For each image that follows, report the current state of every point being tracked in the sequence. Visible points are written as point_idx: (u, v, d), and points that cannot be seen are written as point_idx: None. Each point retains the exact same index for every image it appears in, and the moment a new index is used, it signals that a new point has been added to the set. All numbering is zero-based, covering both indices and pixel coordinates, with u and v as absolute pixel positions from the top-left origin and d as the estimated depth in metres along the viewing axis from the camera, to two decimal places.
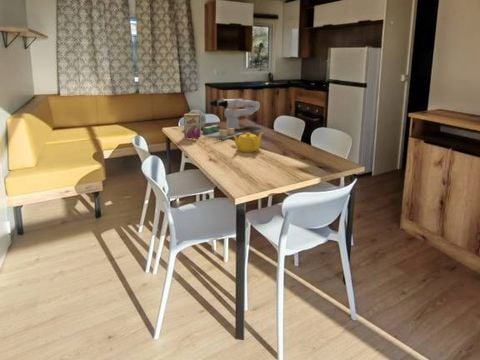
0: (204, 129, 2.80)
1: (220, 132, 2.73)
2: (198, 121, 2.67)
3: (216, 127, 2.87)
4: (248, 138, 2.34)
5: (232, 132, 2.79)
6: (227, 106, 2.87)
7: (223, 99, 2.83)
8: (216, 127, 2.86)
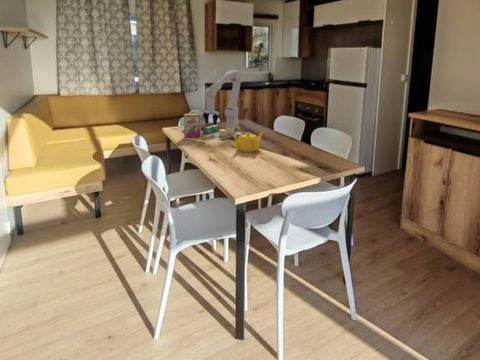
0: (204, 129, 2.80)
1: (220, 132, 2.73)
2: (198, 121, 2.67)
3: (216, 127, 2.87)
4: (248, 138, 2.34)
5: (232, 132, 2.79)
6: (214, 107, 2.81)
7: (208, 113, 2.79)
8: (216, 127, 2.86)
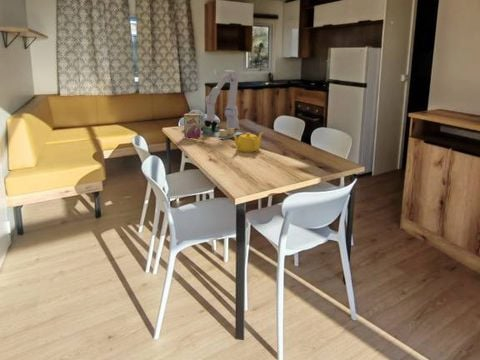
0: (204, 129, 2.80)
1: (220, 132, 2.73)
2: (198, 121, 2.67)
3: (216, 127, 2.87)
4: (248, 138, 2.34)
5: (232, 132, 2.79)
6: (214, 114, 2.82)
7: (209, 120, 2.80)
8: (216, 127, 2.86)
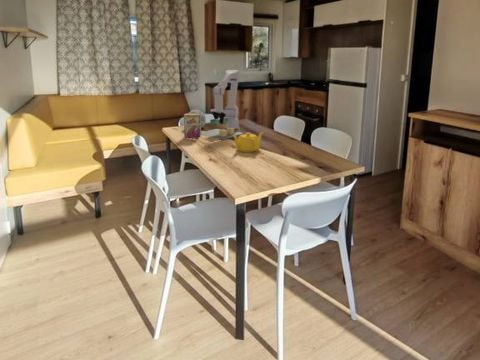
0: (212, 121, 2.73)
1: (220, 132, 2.73)
2: (198, 121, 2.67)
3: (224, 119, 2.80)
4: (248, 138, 2.34)
5: (232, 132, 2.79)
6: (222, 105, 2.75)
7: (217, 111, 2.73)
8: (224, 119, 2.79)
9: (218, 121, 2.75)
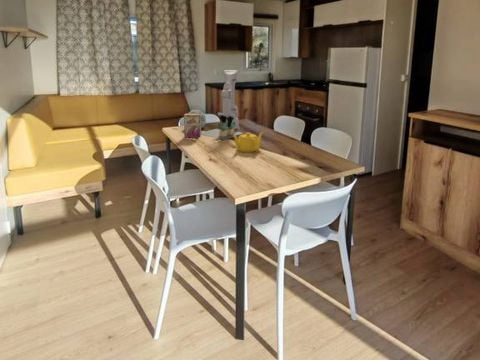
0: (219, 125, 2.70)
1: (220, 132, 2.73)
2: (198, 121, 2.67)
3: (232, 123, 2.76)
4: (248, 138, 2.34)
5: (232, 132, 2.79)
6: (230, 109, 2.72)
7: (225, 115, 2.70)
8: (232, 123, 2.76)
9: (226, 125, 2.72)
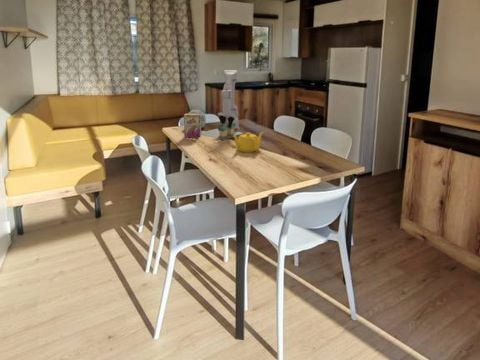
0: (219, 126, 2.70)
1: (220, 132, 2.73)
2: (198, 121, 2.67)
3: (232, 124, 2.77)
4: (248, 138, 2.34)
5: (232, 132, 2.79)
6: (230, 109, 2.72)
7: (225, 115, 2.70)
8: (232, 124, 2.76)
9: (226, 126, 2.72)
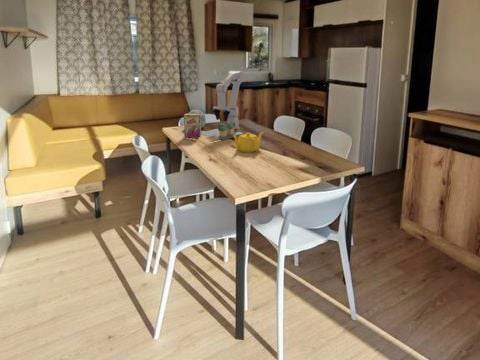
0: (219, 126, 2.70)
1: (220, 132, 2.73)
2: (198, 121, 2.67)
3: (232, 124, 2.77)
4: (248, 138, 2.34)
5: (232, 132, 2.79)
6: (225, 103, 2.78)
7: (220, 109, 2.76)
8: (232, 124, 2.76)
9: (226, 126, 2.72)
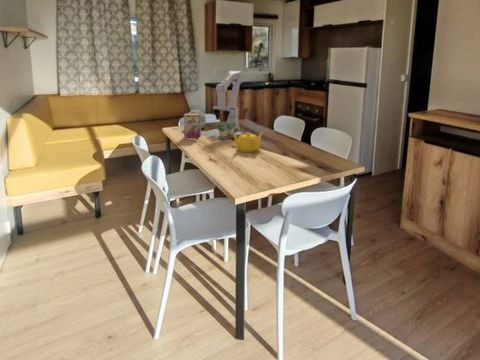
0: (219, 126, 2.70)
1: (220, 132, 2.73)
2: (198, 121, 2.67)
3: (232, 124, 2.77)
4: (248, 138, 2.34)
5: (232, 132, 2.79)
6: (225, 103, 2.78)
7: (220, 109, 2.76)
8: (232, 124, 2.76)
9: (226, 126, 2.72)
